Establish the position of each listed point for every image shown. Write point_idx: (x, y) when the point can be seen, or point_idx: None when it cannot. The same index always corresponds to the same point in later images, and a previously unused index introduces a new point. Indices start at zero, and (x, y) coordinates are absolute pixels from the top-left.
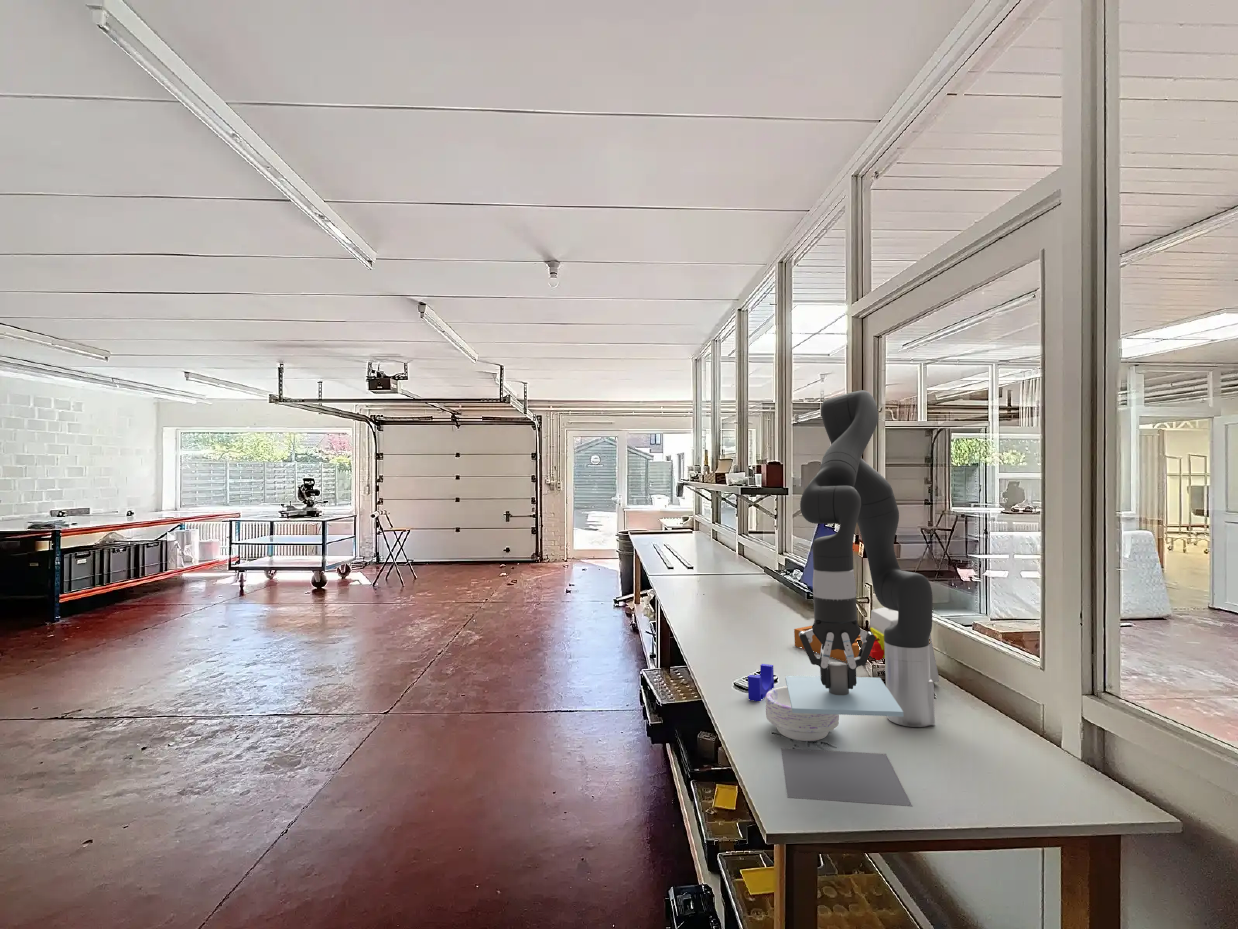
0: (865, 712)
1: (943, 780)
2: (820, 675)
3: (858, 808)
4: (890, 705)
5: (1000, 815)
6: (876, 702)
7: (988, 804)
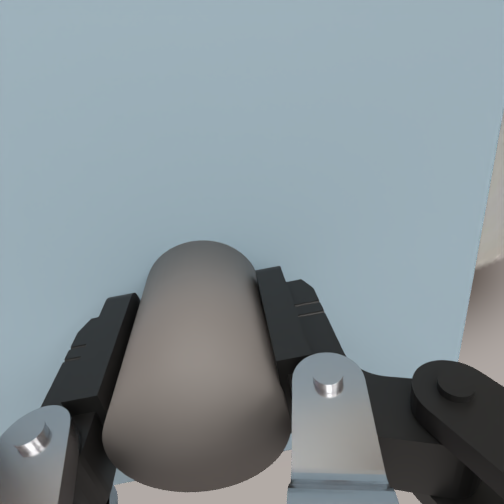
0: None
1: None
2: (67, 359)
3: None
4: None
5: (491, 234)
6: (373, 367)
7: (491, 198)
